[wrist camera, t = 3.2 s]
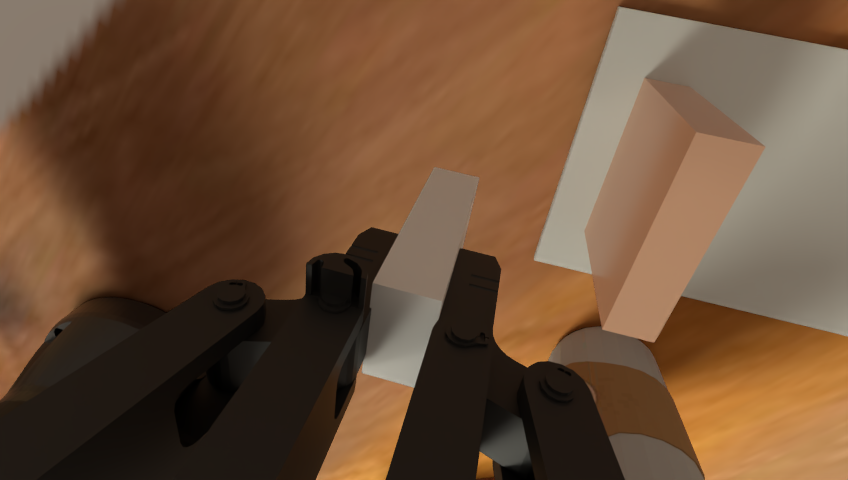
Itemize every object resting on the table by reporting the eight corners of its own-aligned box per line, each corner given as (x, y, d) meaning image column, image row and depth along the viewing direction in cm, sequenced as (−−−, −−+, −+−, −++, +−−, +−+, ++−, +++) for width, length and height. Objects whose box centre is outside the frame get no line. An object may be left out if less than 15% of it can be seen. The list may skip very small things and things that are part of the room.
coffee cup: (597, 285, 27) (651, 567, 14) (703, 362, 28) (840, 686, 16) (505, 362, 31) (484, 631, 19) (601, 425, 33) (642, 720, 20)
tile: (584, 230, 25) (601, 329, 18) (644, 77, 21) (696, 132, 14) (623, 240, 25) (655, 343, 18) (691, 87, 21) (767, 147, 14)
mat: (534, 255, 27) (534, 260, 27) (618, 6, 20) (620, 7, 20) (1027, 374, 25) (1036, 381, 24) (1313, 137, 18) (1332, 141, 17)
